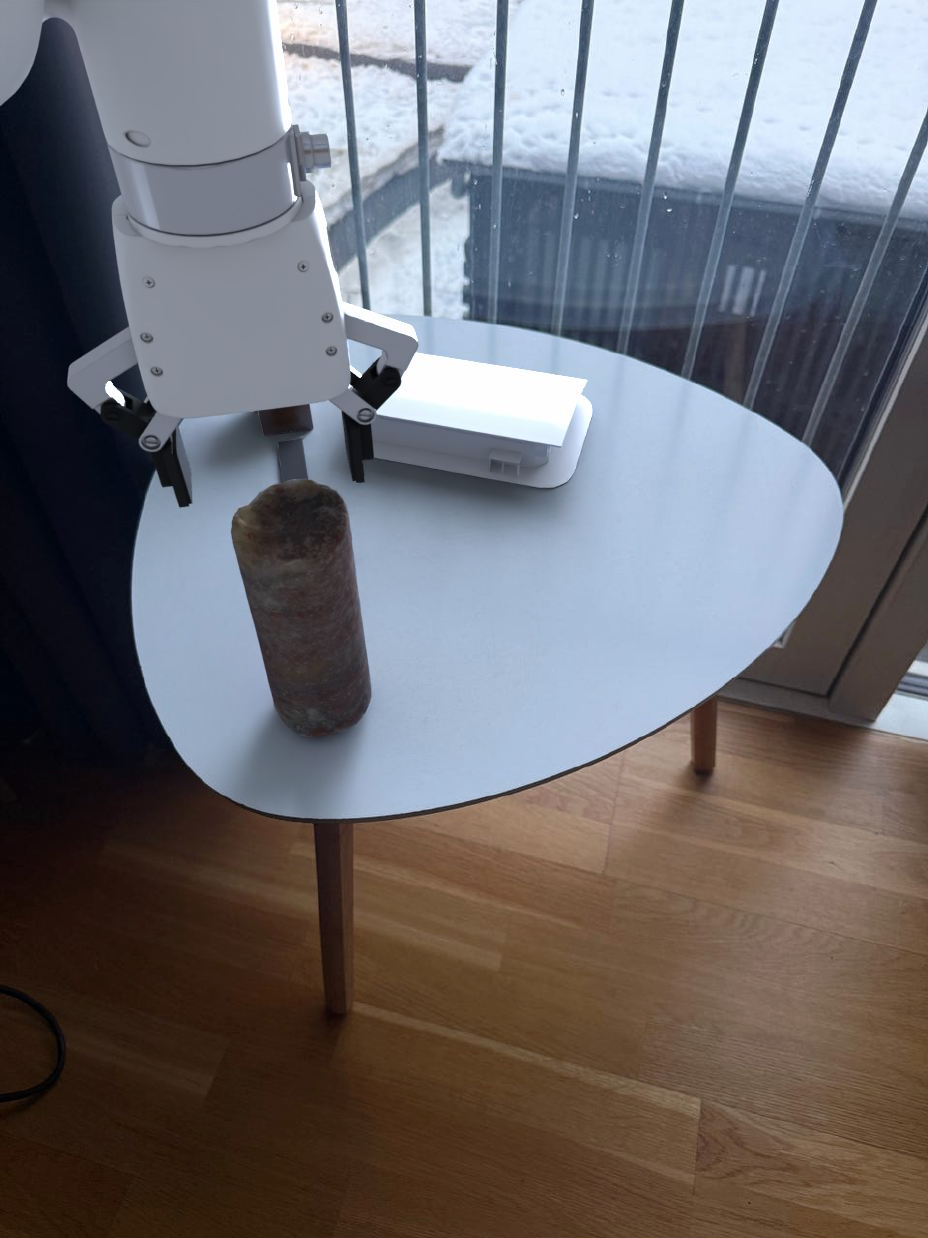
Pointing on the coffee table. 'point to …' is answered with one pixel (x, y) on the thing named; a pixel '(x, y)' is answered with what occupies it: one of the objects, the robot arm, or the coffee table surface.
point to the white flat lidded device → (484, 421)
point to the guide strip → (292, 460)
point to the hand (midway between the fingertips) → (271, 478)
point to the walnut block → (286, 419)
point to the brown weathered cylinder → (305, 604)
